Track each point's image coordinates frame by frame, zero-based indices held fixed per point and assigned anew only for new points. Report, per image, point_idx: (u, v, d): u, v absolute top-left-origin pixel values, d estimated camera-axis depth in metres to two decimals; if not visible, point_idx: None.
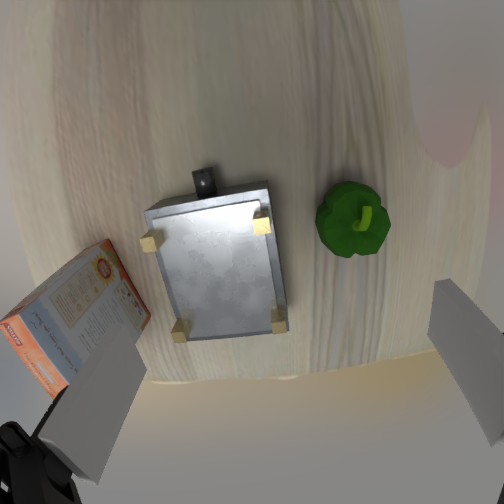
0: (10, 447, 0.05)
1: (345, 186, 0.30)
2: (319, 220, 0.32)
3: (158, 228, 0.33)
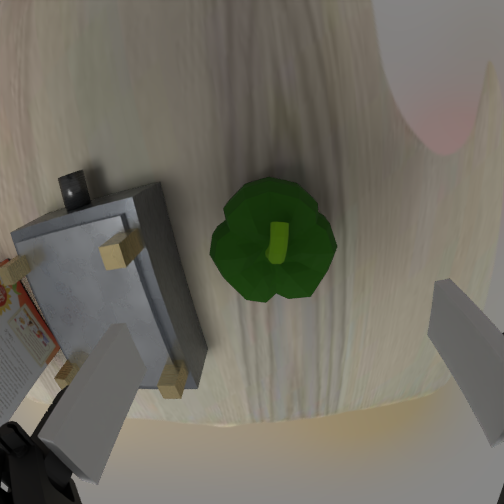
0: (10, 447, 0.05)
1: (251, 186, 0.19)
2: (211, 243, 0.20)
3: (22, 254, 0.21)
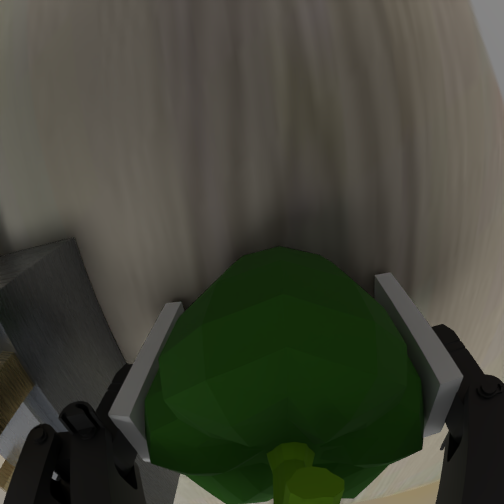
0: (75, 428, 0.07)
1: (229, 317, 0.06)
2: (145, 417, 0.07)
3: None
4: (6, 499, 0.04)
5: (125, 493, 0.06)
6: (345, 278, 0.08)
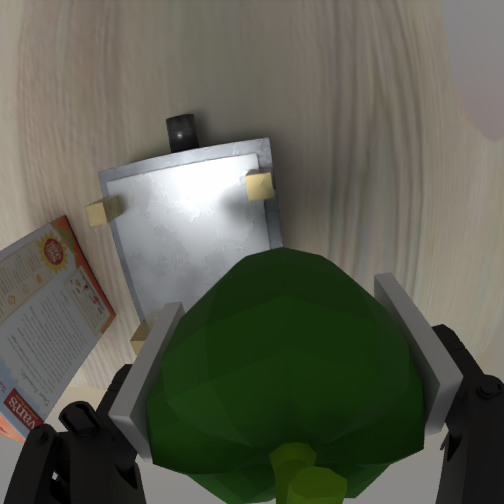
0: (75, 428, 0.07)
1: (232, 318, 0.06)
2: (147, 418, 0.07)
3: (114, 194, 0.22)
4: (6, 499, 0.04)
5: (125, 493, 0.06)
6: (347, 279, 0.08)
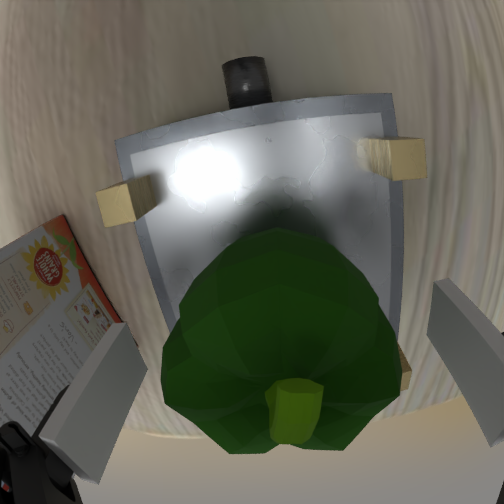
0: (11, 447, 0.05)
1: (236, 265, 0.08)
2: (162, 363, 0.10)
3: (144, 173, 0.14)
4: None
5: None
6: (328, 245, 0.10)
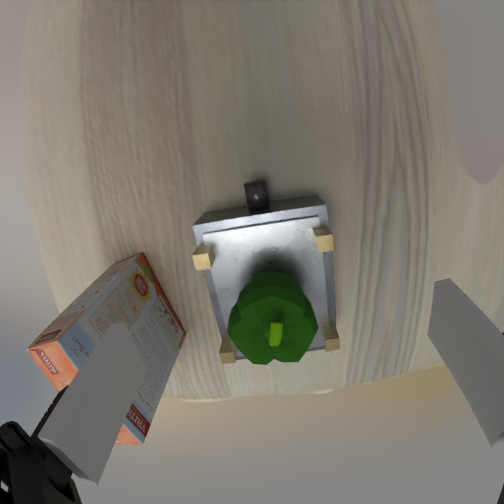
0: (10, 447, 0.05)
1: (257, 289, 0.26)
2: (228, 325, 0.27)
3: (209, 244, 0.32)
4: None
5: None
6: (288, 281, 0.28)
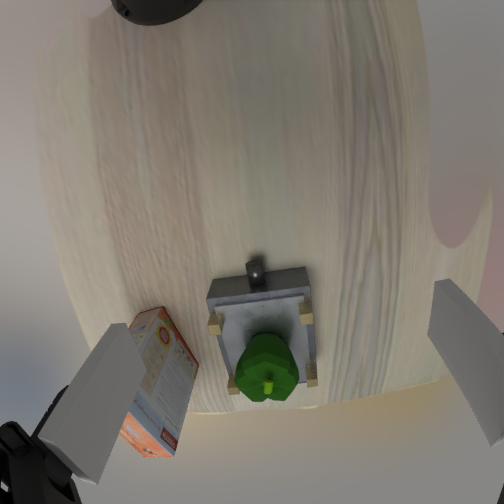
0: (10, 447, 0.05)
1: (256, 356, 0.36)
2: (235, 376, 0.37)
3: (219, 313, 0.41)
4: None
5: None
6: (278, 347, 0.37)
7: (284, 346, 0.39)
